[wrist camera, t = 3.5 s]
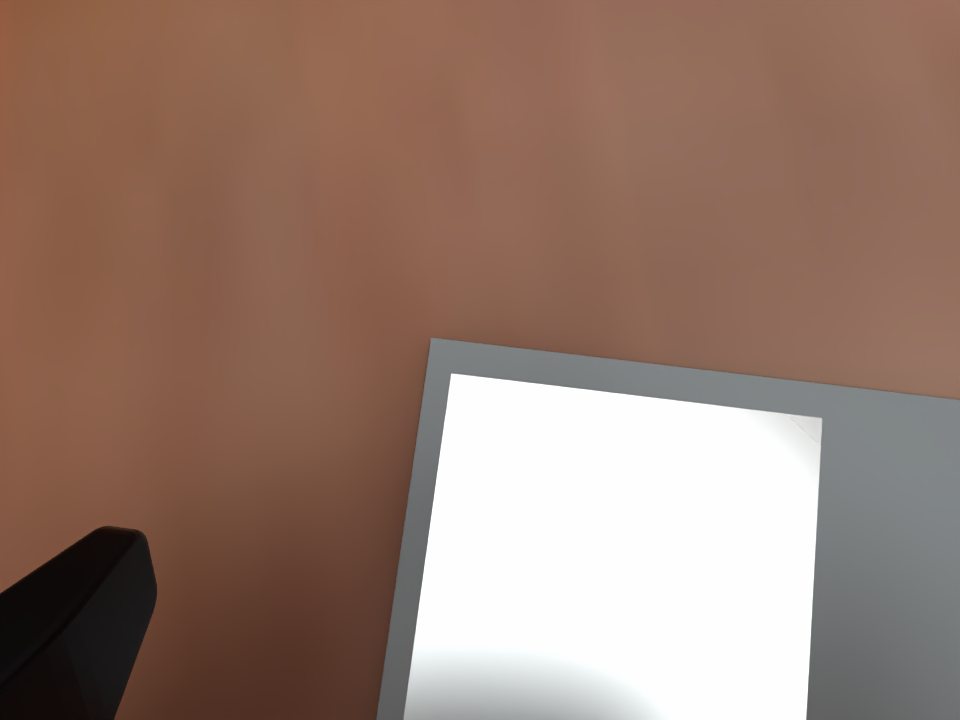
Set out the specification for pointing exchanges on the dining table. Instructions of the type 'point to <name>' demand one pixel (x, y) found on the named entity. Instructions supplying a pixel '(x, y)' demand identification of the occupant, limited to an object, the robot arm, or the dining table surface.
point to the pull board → (853, 532)
